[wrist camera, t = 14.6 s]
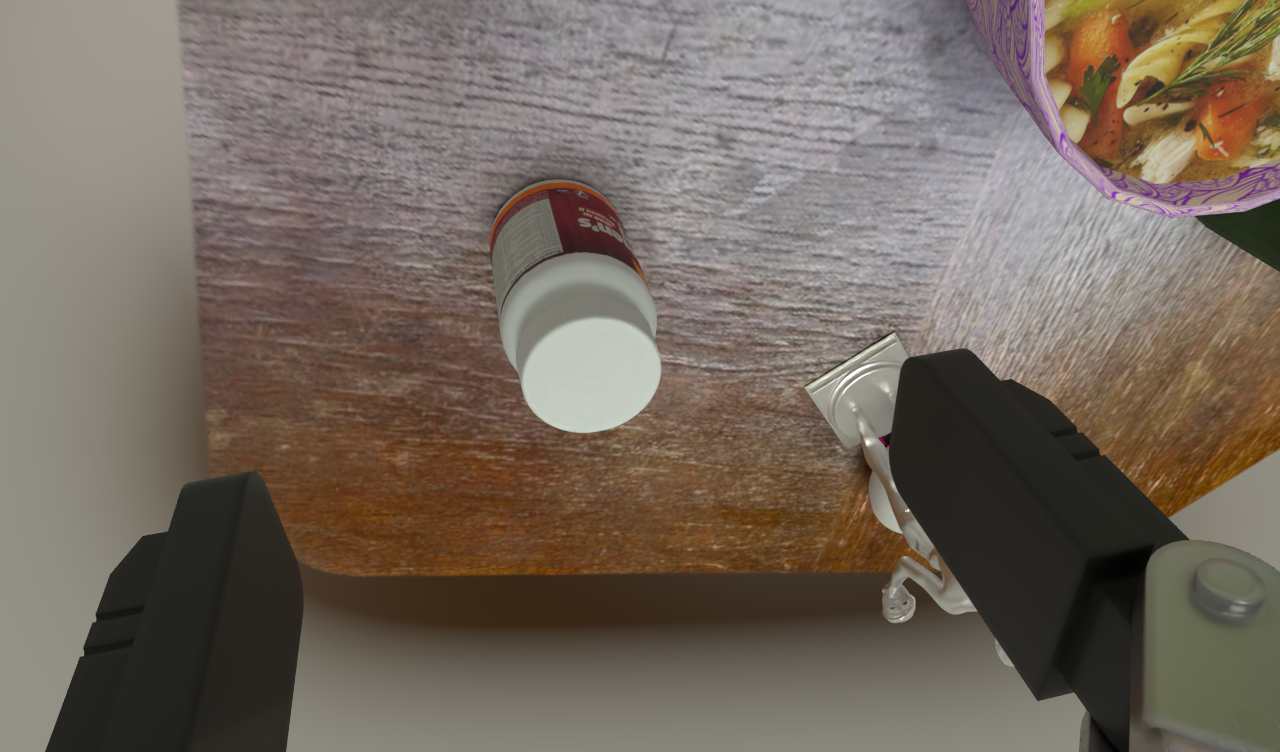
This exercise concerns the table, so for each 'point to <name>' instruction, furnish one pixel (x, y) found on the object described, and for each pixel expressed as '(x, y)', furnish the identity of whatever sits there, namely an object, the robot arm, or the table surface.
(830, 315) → the table surface
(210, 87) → the table surface
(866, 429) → the figurine
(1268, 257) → the wine bottle
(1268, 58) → the bowl of food
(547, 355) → the pill bottle
